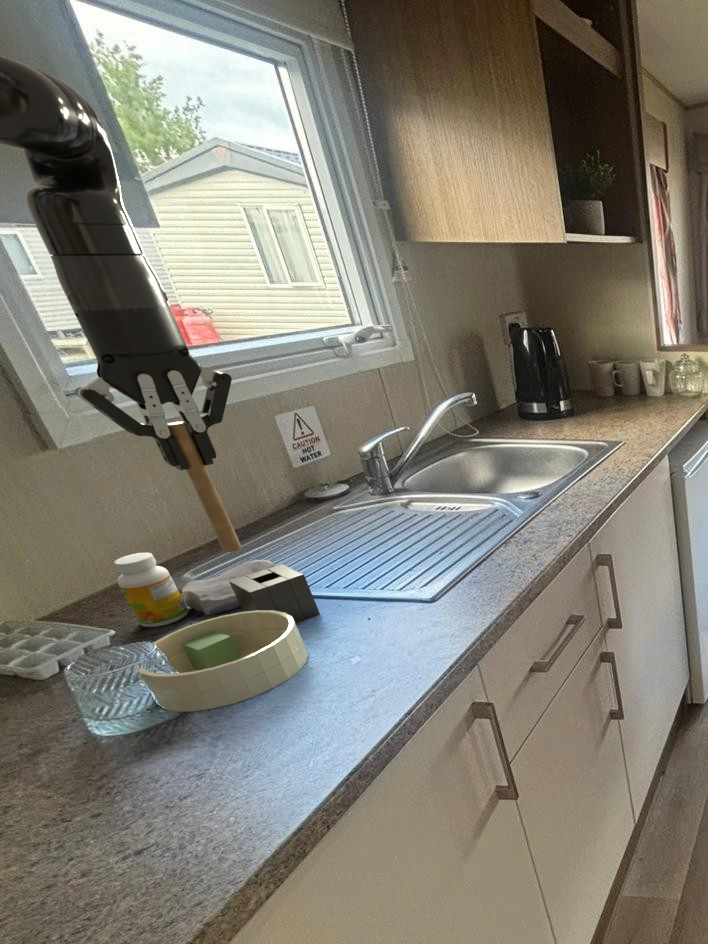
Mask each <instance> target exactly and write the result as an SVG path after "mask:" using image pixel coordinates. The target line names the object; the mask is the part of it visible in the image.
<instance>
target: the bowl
mask: <svg viewBox="0 0 708 944" xmlns="http://www.w3.org/2000/svg"><path fill="white" fill-rule="evenodd" d="M213 631H215V632H218V633H222V634H225V635H228V636H231V638H232V640H233V642H234V644H235V646H236V648H237V650H238V652H239V654H240V657H241V658H240V659H238V660H235V661H232V662H229V663H226V664H223V665H219V666H216V667H213V668H208V669H203V670H197V669H195V668H194V667H193V665H192V663H191V661H190V659H189V657H188V656H187V654H186V652H185V650H184V648H183V646H182V644H184V643H186V642H189V641H191V640H194V639H196V638H198V637H201V636H203V635H205V634H208V633H210V632H213ZM151 644H154V645H156V646H157V647H158V648H159V649H160V650H161V651H162V652H163V653H164V654H165V656H166V657H167V659H168V661H169V662H170V664H171V665H172V666H173V668H174V669H175V670H177V671H178V672H179V673H176V674H161V673H154V672H150V671H147V670H146V669H144V668H143V667H141V668H140V669H138V670H137V671H138V673H139V674H140V676H141V678H142V679H143V681H144V682H145V684H146V685H147V686H148V688H149V689H150V690H151V691H152V692H153V693H154V695H155V697H156V699H157V701H158V703H159V704H160V705H161V706H162V707H164V709H163V710H165V709H166V711H170V712H177V713H178V712H181V713H192V712H199V711H207V710H208V711H209V710H213V709H218V708H222V707H227V706H231V705H234V704H237V703H240V702H243V701H245V700H249V699H252V698H254V697H257V696H259V695H261V694H264V693H265V692H268V691H270V690H272V689H275V688H277V687H278V686H279V685H281V684H283V683H285V682H287V681H288V680H289V679H291V678H292V677H293V676H295V674H297V673H298V672H300V671H301V669H302V668H304V667H303V666H304V665H305V664H306V663H307V661H308V657H309V652H308V650H307V647H306V645H305V642H304V641H303V638H302V635H301V633H300V631H299V629H298V626H297V623H296V624H295V622H294V619H293V617H292V616H290V615H288V614H287V613H284V612H279V611H273V610H256V611H246V612H243V611H240V612H235V613H230V614H223V615H219V616H216V617H213V618H208V619H205V620H201V621H199V622H195V623H193V624H189V625H187V626H184V627H182V628H180V629H177V630H175V631H173V632H171V633H168V634H166V635H165V636H162V637H161V638H159V639H157V640H156V641H154V642H152V643H151Z"/></svg>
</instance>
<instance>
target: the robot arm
mask: <svg viewBox="0 0 708 944" xmlns="http://www.w3.org/2000/svg"><path fill="white" fill-rule="evenodd" d="M0 145H5V146H8V147H11V148H15V149H19V150H22V152H23V154H24V157H25V160H26V163H27V167H28V168H29V171H30V174H31V177H32V180H33V186H31V187H30V188H29V189H28V190H27V191H26V193H25V204H26V207H27V209H28V212H29V214H30V217H31V219H32V221H33V222H34V224H35V227H36V229H37V231H38V234H39V236H40V238H41V240H42V241H43V242H42V243H43V244H44V246H45V248H46V250H47V252H48V254H49V255H50V258H51V261H52V264H53V267H54V270H55V273H56V276H57V279H58V282H59V284H60V286H61V288H62V291H63V292H64V294H65V297H66V299H67V302H68V303H69V305H70V306H71V310H72V311H73V313H74V315H75V317H76V320H77V321H78V323H79V325H80V328H81V331H83V334H84V335H85V338H86V340H87V342H88V344H89V346H90V348H91V350H92V352H93V354H94V356H95V358H96V361H97V362H96V363H97V367H96V375H97V378H95V379H94V380H92V381H91V382H89V384H87V385H85V386H80V387H77V388H76V389H75V395H76V396H77V397H78V398H79V399H81V401H84V402H85V403H87V404H88V405H89V406H91V407H92V408H93V409H95V410H97V411H98V412H99V413H100V414H102V415H103V416H104V417H106V418H108V419H109V420H111V422H114V423H115V424H116V425H118V426H119V427H120V428H122V429H123V430H125V431H126V432H128V433H130V434H132V435H134V436H137V437H149V438H150V437H151V438H153V440H154V442H155V443H156V445H157V448H158V450H159V452H160V454H161V457H162V459H163V461H164V462H165V463H166V464H167V465H169V466H171V467H174V468H175V469H176V470H179V471H186V469H189V467H188V464H187V462H186V460H185V458H184V456H183V453H182V451H181V449H180V447H179V445H178V443H177V440H176V438H175V437H171V434H170V430H169V428H168V425H167V424H168V422H167V420H166V414H165V411H164V408H163V405H165V404H167V403H171V405H172V406H173V408H174V410H175V411H176V412H177V414H178V415H179V417H180V419H181V422H186V423H187V426H188V428H189V430H190V432H191V435H192V437H193V439H194V442H195V444H196V446H197V448H198V451H199V453H200V455H201V457H202V459H203V462H204V464H205V466H210V465H214V460H215V459H217V452H216V450H215V447H214V445H213V442H212V440H211V439H210V438H211V437H210V436H209V433H208V430H209V428H210V427H212V426H214V425H217V424H220V423H222V422H223V419H224V413H225V410H226V405H227V402H228V398H229V393H230V389H231V385H232V380H233V378H232V376H231V375H230V374H229V373H227V372H222V371H217V370H212V369H209V368H205V367H203V366H201V364H200V362H199V361H198V360H197V359H196V358H195V357H194V356H193V355H192V354H191V353H190V350H189V347H188V346H187V343H186V341H185V339H184V337H183V334H182V331H181V329H180V327H179V324H178V322H177V320H176V318H175V315H174V312H173V310H172V308H171V305H170V304H169V298H168V295H167V293H166V291H165V290H164V288H163V286H162V284H161V281H160V279H159V278H158V276H157V274H156V272H155V270H154V269H153V267H152V265H151V264H150V261H149V260H148V258H147V257H146V255H145V251H144V250H143V247H142V244H141V243H140V239H139V237H138V235H137V233H136V231H135V228H134V226H133V223H132V221H131V218H130V217H129V215H128V213H127V211H126V208H125V206H124V202H123V198H122V190H121V185H120V184H121V183H120V180H119V176H118V172H117V167H116V163H115V158H114V155H113V151H112V147H111V144H110V141H109V139H108V135H107V133H106V130H105V129H104V126H103V124H102V123H101V121H100V119H99V117H98V115H97V113H96V112H95V110H94V109H93V107H92V105H91V104H90V103H89V102H88V101H87V99H86V98H85V97H84V96H83V95H82V94H81V93H80V92H79V91H78V90H76V89H75V88H74V87H73V86H71V84H69V83H67V82H66V81H64V80H62V79H61V78H59V77H57V76H55V75H53V74H50V73H49V72H46V71H43V70H40V69H38V68H35V67H32V66H30V65H28V64H25V63H23V62H20V61H19V60H16V59H13V58H9V57H8V56H7V57H6V56H3V55H0ZM200 378H201V383H202V385H203V386H204V387H205V388H206V392H205V397H204V400H203V404H202V408H201V412H199V407H198V405H197V403H196V401H195V399H194V398H193V394H194V391H195V389H196V387H197V384H198V381H199V379H200ZM110 387H111V388H112V389H114V390H116V391H117V392H119V393H120V394H122V395H123V396H125V397H127V398H128V399H130V400H132V401H133V402H135V403H136V406H137V408H138V411H139V412H140V415H141V416H142V418H143V421H144V423H141V422H139V421H137V420H136V418H135V419H134V418H133V417H132V416H131V415H129V414H128V413H127V412H125V411H124V410H122V409H121V408H119V407H118V406H117V405H115V404H114V403H113V401H114V400H115V396H114V395H113V394H112V392H111V391H110ZM213 459H214V460H213Z"/></svg>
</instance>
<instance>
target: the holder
mask: <svg viewBox="0 0 708 944" xmlns="http://www.w3.org/2000/svg"><path fill="white" fill-rule="evenodd" d="M229 583H230V585H231V587H232V589H233V591H234V593H235V595H236V598H237V600H238V602H239V604H240V606H241V607H240V608H241V610H242V612H246V611H256V610H273V611H279V612H284V613H287V614H288V615H290V616H292V617H293V619H294V622H295V624H296V625H297V624H298V623H302V622H304V621H306V620H309V619H311V618H314V617H317V616H320V615H321V613H320V610H319V608H318V605H317V603H316V601H315V598H314V595H313V593H312V591H311V588H310V586H309V583H308V581H307V579H306V575H305V574H304V573H302V572H300V571H297V570H295V569H293V568H292V567H289V566H287V565H286V564H283V563H281V564H279V565H276V566H275V567H272V568H269V569H266V570H263V571H260V572H256V573H253V574H250V575H247V576H244V577H241V578H238V579H234V580H231V581H229Z"/></svg>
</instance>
